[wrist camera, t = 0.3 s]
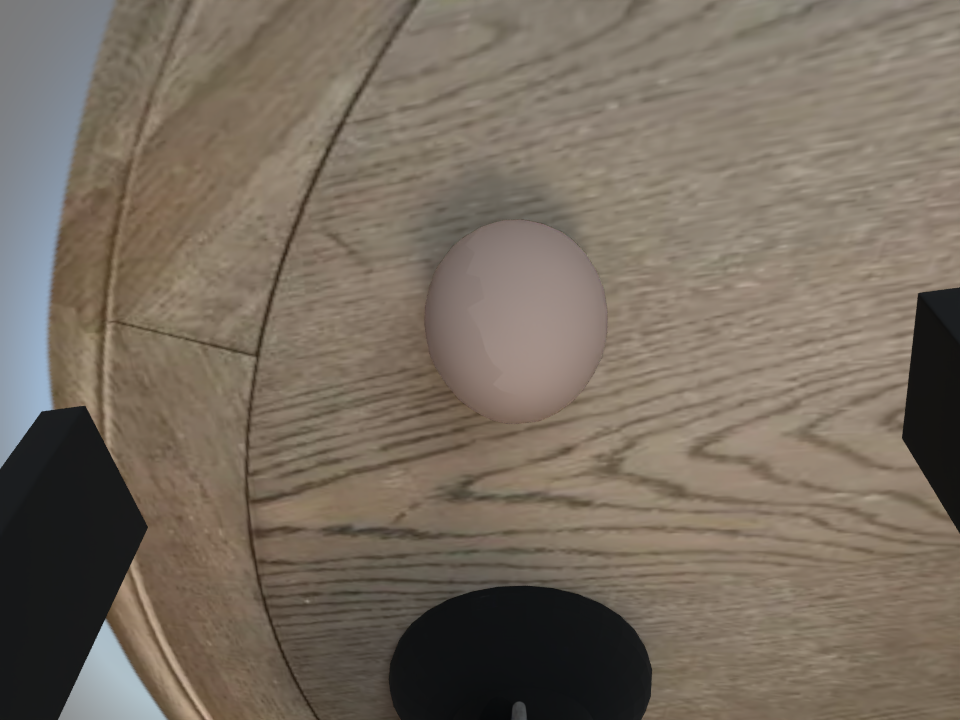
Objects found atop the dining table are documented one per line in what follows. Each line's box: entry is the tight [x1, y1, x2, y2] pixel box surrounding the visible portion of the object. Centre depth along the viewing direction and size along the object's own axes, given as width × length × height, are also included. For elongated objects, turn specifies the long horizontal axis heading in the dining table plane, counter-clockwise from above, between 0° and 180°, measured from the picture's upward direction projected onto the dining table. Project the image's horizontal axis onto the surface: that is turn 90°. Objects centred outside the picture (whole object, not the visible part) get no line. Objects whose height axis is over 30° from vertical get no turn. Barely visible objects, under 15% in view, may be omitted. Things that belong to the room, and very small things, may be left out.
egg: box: [425, 219, 608, 424], centre depth 32 cm, size 7×7×9 cm
